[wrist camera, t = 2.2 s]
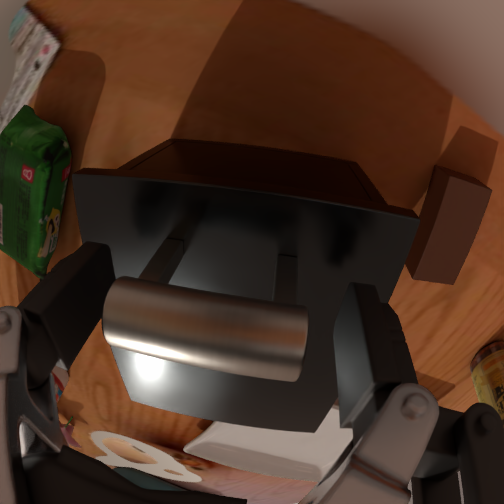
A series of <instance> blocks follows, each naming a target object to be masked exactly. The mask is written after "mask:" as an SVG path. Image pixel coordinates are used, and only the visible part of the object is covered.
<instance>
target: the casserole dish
mask: <svg viewBox="0 0 504 504" xmlns="http://www.w3.org/2000/svg"><path fill="white" fill-rule="evenodd" d="M113 470H114V471H116V472H117V473H119V474H120V475H122V476H123V477H125V478H126V479H128V480H129V481H131V482H133V483H134V484H136V485H138V486H139V487H141V488H145V489H153V490H172V491H188V490H185V489H183V488H180V487H178V486H175V485H172V484H170V483H168V482H165V481H163V480H161V479H158V478H156V477H154V476H151V475H149V474H147V473H145V472H142V471H140V470H137V469H134V468H129V467H119V468H114V469H113Z"/></svg>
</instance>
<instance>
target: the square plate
mask: <svg viewBox="0 0 504 504" xmlns="http://www.w3.org/2000/svg"><path fill="white" fill-rule="evenodd" d="M352 439H353V431H352V429H350V428H340V421H339V402H338V398H337V400H336V401H335V403H334V404H333V406H332V408H331V409H330V411H329V412H328V414H327V416H326V417H325V419H324V420H323V422H322V423H321V425H320V426H319V428H318V429H317V431H316V432H315V433H305V432H292V431H281V430H272V429H263V428H255V427H248V426H242V425H235V424H229V423H223V422H218V421H214V422H213V423H212V424H211V425H210V426H209V427H208V428H207V429H206V430H205V431H204V432H203V433H201V434H200V435H199V436H198V437H196V438H195V439H194V440H192V441H191V442H189V443H188V444H187V445H186V446H185V447H184V449H183V450H184V451H185V452H187V453H190V454H193V455H196V456H198V457H201V458H204V459H207V460H210V461H214V462H217V463H220V464H223V465H227V466H230V467H234V468H237V469H241V470H245V471H249V472H254V473H259V474H263V475H269V476H274V477H281V478H288V479H296V480H305V481H314V482H319V481H320V480H321V478H322V477H323V476H324V475H325V473H326V472H327V471H328V470H329V468H330V467H331V466H332V465H333V463H334V462H335V461H336V460H337V458H338V457H339V456H340V454H341V453H342V452H343V450H344V449H345V448H346V446H347V445H348V443H349V442H350V441H351V440H352Z"/></svg>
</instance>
